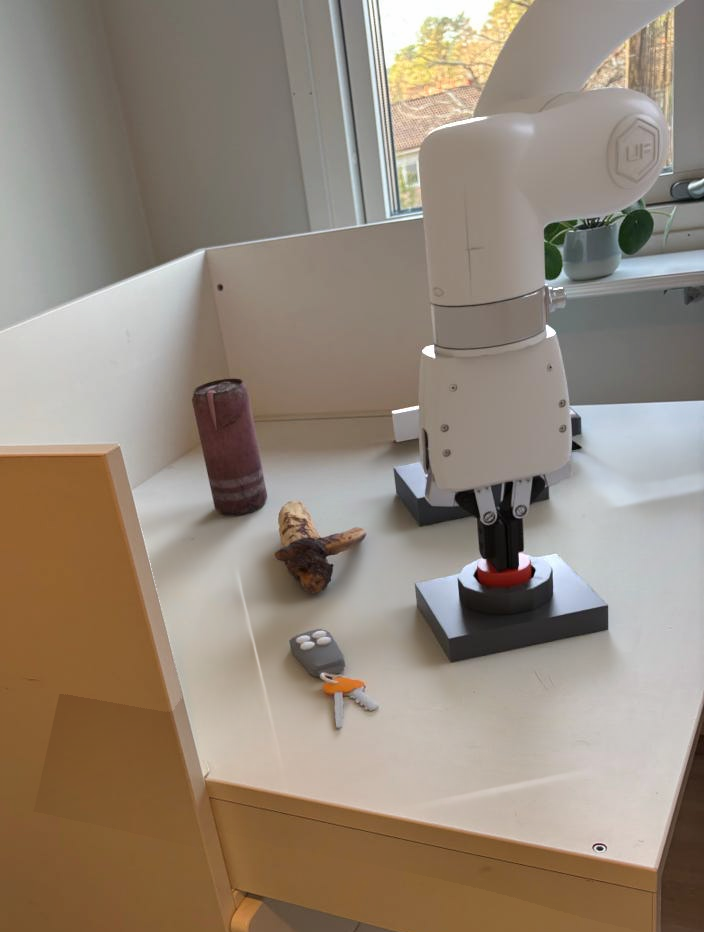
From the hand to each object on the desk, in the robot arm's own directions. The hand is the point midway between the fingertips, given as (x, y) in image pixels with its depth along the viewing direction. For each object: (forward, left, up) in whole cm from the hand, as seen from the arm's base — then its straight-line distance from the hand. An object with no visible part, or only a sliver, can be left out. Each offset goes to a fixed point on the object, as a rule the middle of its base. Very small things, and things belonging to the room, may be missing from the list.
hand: (502, 562), depth 74 cm
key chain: (+15, +4, -5) cm, 16 cm away
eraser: (-5, -48, -5) cm, 49 cm away
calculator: (-15, -40, -5) cm, 43 cm away
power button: (0, 0, -2) cm, 2 cm away
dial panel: (-5, -26, -5) cm, 27 cm away
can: (+18, -37, -5) cm, 41 cm away
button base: (0, 0, -5) cm, 5 cm away
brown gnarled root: (+12, -19, -5) cm, 23 cm away
